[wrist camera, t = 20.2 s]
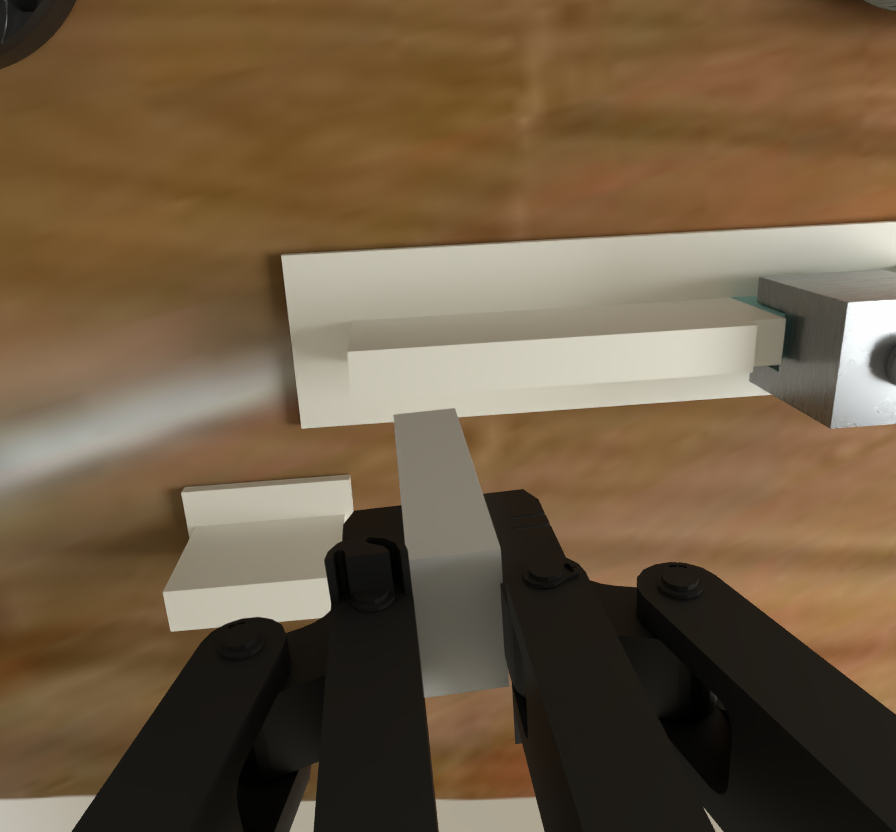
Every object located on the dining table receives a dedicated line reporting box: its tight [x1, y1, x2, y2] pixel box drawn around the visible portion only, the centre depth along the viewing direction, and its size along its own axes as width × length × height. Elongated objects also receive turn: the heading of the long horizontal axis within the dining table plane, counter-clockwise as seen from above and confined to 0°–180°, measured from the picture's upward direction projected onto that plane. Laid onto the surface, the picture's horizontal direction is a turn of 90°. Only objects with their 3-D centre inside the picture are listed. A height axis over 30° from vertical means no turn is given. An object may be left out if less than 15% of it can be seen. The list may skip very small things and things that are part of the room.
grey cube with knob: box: [749, 270, 896, 429], centre depth 37 cm, size 6×7×9 cm
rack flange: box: [281, 220, 896, 428], centre depth 38 cm, size 10×37×10 cm, turn 93°
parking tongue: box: [163, 474, 354, 631], centre depth 42 cm, size 7×10×8 cm
